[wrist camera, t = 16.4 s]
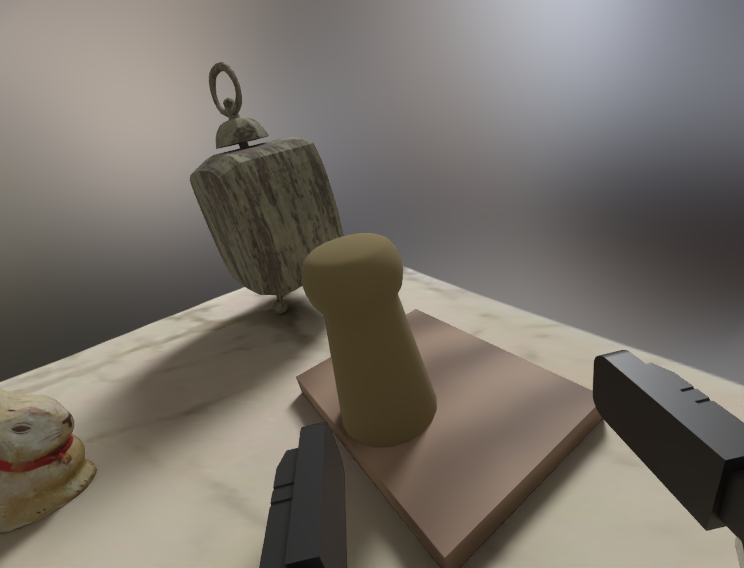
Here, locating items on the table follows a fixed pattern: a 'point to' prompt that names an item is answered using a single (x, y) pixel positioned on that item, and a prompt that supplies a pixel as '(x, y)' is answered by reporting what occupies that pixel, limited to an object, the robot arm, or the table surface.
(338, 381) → the cork
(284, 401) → the table surface
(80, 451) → the chocolate bunny
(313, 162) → the tabletop clock
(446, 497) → the walnut board
